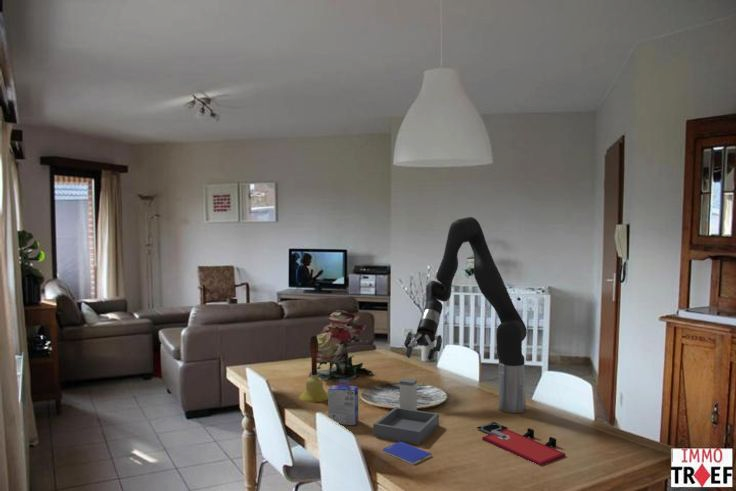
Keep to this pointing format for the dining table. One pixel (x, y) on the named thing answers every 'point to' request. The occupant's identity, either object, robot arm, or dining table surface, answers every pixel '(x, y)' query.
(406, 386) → the grey block
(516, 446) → the red board with handle
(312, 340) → the handbell
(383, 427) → the tray
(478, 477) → the dining table surface
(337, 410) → the ink cartridge box
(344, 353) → the rose bouquet
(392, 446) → the hard drive
